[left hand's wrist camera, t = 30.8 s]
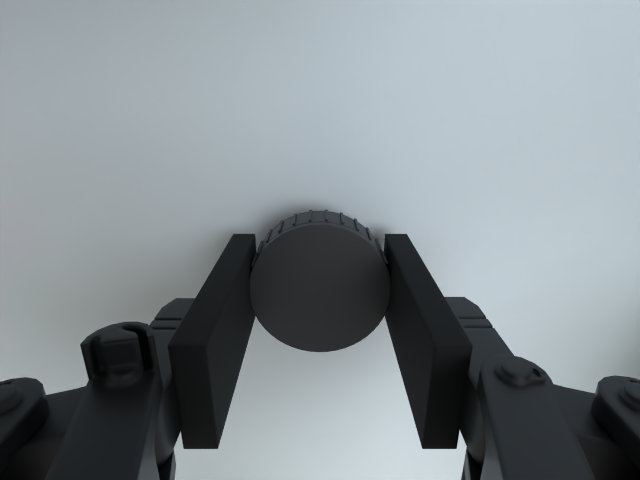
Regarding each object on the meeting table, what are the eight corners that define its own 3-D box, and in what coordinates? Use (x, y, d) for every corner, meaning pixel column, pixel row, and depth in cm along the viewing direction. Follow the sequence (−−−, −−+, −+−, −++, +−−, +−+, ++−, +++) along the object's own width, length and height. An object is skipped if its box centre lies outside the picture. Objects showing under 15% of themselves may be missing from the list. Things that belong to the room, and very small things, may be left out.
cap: (396, 313, 15) (404, 337, 14) (275, 339, 15) (270, 365, 14) (371, 194, 13) (377, 207, 12) (236, 227, 14) (226, 243, 12)
